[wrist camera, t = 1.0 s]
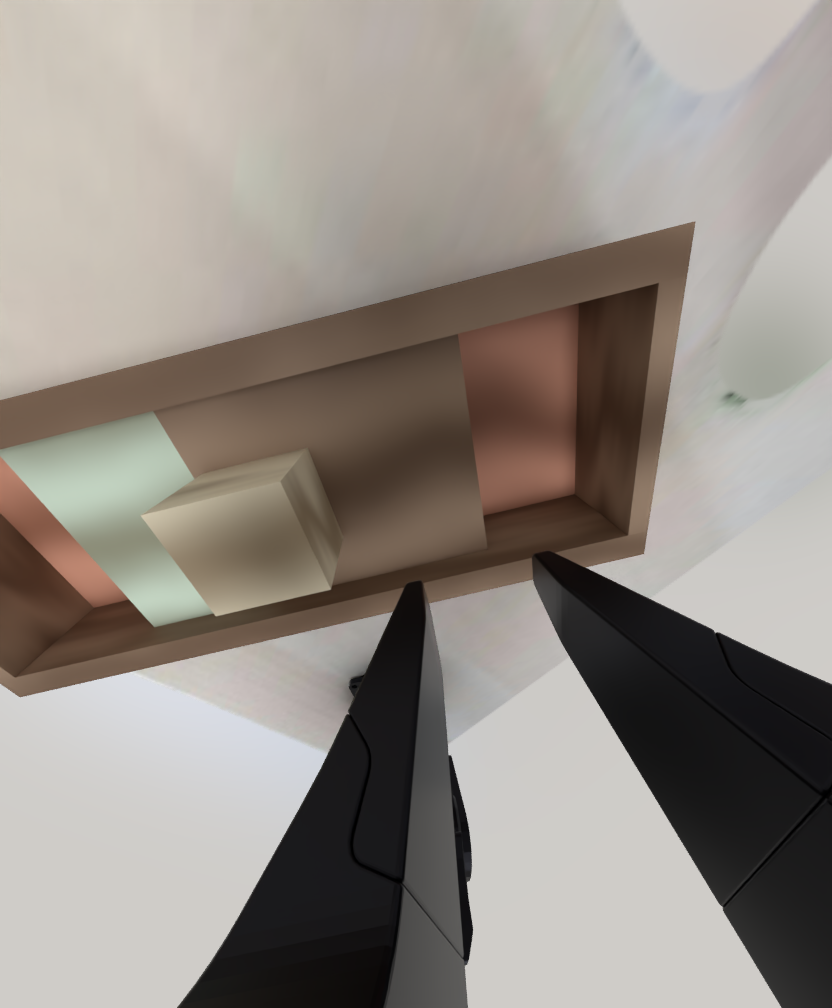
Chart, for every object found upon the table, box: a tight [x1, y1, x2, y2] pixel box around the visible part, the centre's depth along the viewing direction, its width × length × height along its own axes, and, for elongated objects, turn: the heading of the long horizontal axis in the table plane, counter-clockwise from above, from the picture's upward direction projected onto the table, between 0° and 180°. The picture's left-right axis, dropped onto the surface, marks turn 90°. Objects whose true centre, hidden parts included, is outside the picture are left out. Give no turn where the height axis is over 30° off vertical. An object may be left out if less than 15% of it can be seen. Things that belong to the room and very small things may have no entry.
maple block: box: [141, 448, 343, 616], centre depth 13 cm, size 5×5×4 cm
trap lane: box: [0, 222, 695, 697], centre depth 16 cm, size 14×36×6 cm, turn 103°
